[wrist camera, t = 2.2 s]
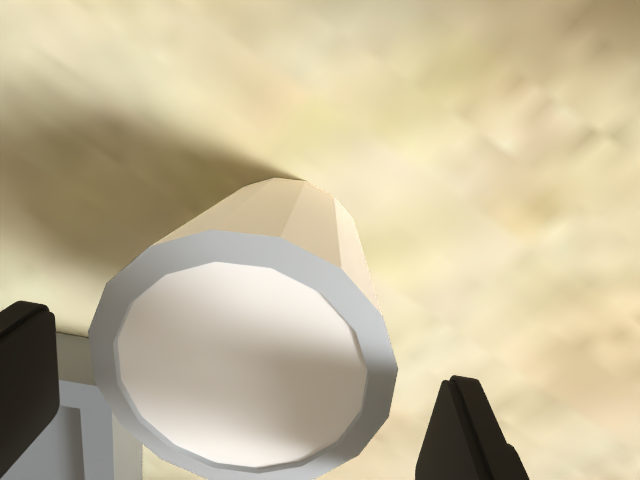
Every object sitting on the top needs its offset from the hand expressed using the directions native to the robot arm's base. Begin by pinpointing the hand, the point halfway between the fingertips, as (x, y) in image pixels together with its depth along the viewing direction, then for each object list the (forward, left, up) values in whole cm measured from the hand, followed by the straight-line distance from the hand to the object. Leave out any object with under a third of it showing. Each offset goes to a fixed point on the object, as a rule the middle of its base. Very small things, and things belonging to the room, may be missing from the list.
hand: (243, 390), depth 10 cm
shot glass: (-1, 0, -7) cm, 7 cm away
